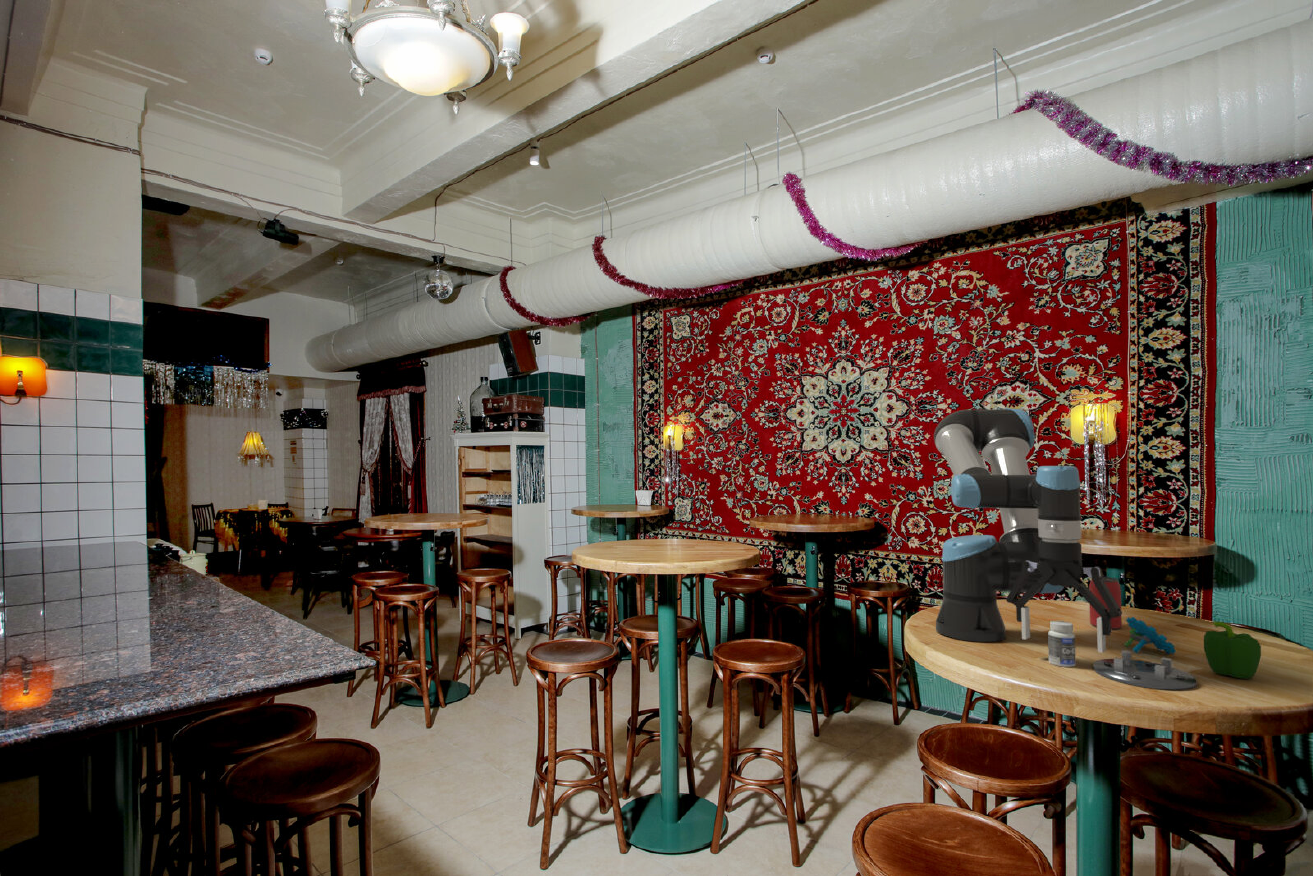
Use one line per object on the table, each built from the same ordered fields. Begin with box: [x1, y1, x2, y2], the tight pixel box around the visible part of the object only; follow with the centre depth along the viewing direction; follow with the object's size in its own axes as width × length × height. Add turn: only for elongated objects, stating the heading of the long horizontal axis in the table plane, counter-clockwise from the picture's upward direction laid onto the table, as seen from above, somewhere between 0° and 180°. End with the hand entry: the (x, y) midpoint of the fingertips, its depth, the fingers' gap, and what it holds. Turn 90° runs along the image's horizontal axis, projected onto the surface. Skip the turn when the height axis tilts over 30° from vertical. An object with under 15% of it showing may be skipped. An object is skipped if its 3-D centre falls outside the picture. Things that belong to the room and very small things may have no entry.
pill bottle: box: [1047, 620, 1077, 668], centre depth 134 cm, size 5×5×8 cm
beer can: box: [1088, 576, 1123, 630], centre depth 163 cm, size 7×7×12 cm
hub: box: [1092, 650, 1198, 691], centre depth 126 cm, size 16×16×3 cm
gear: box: [1123, 616, 1177, 655], centre depth 142 cm, size 11×6×10 cm
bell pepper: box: [1203, 621, 1262, 680], centre depth 127 cm, size 8×8×10 cm
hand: (1062, 644), depth 133 cm, fingers open, 13 cm apart
